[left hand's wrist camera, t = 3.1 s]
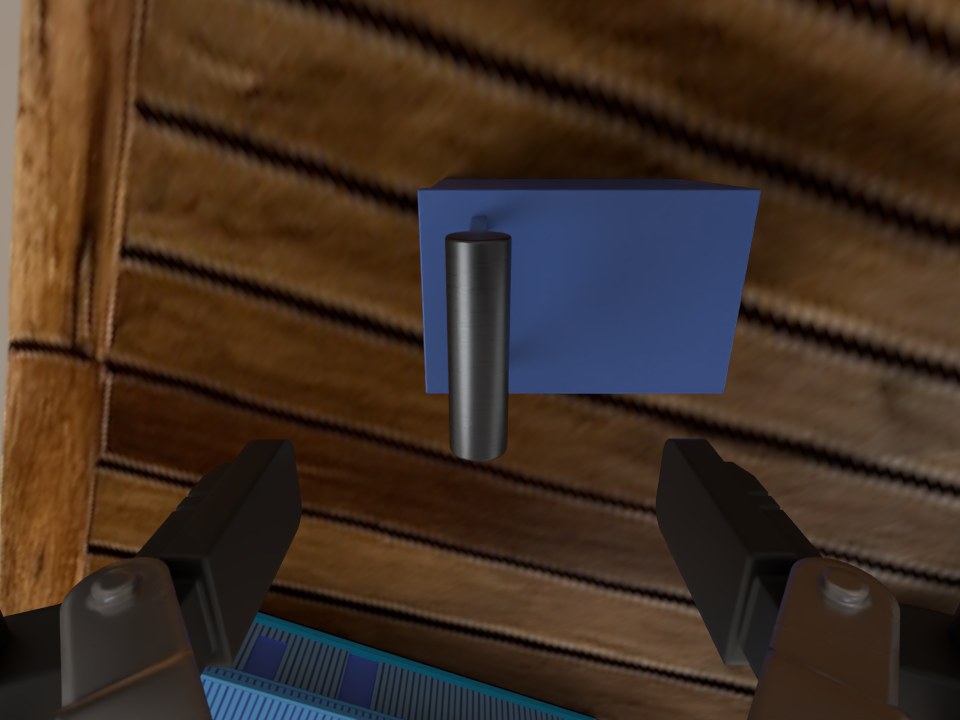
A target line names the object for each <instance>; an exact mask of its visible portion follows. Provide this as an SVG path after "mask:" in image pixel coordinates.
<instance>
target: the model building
mask: <svg viewBox="0 0 960 720" xmlns="http://www.w3.org/2000/svg"><path fill="white" fill-rule="evenodd" d="M201 681H202V684H203V688H204V691H205V695H206V698H207V701H208V705H209V708H210V712H211V715H212V719H213V720H598V719H595V718H592V717H589V716H585V715H582V714H579V713H576V712H573V711H570V710H566V709H563V708H560V707H557V706H554V705H551V704H547V703H544V702H541V701H538V700H535V699H532V698H528V697H525V696H522V695H519V694H516V693H513V692H510V691H506V690H503V689H500V688H497V687H494V686H491V685H487V684H484V683H481V682H478V681H475V680H472V679H468V678H465V677H462V676H459V675H456V674H453V673H449V672H446V671H443V670H440V669H437V668H434V667H431V666H427V665H424V664H421V663H418V662H415V661H412V660H408V659H405V658H402V657H399V656H396V655H393V654H389V653H386V652H383V651H380V650H377V649H374V648H370V647H367V646H364V645H361V644H358V643H355V642H351V641H348V640H345V639H342V638H339V637H336V636H333V635H329V634H326V633H323V632H320V631H317V630H314V629H310V628H307V627H304V626H301V625H298V624H295V623H291V622H288V621H285V620H282V619H279V618H276V617H272V616H269V615H266V614H263V613H260V612H258V613H257V615H256V617H255V619H254V621H253V623H252V625H251V627H250V629H249V632H248V634H247V636H246V638H245V640H244V642H243V644H242V646H241V648H240V650H239V652H238V654H237V656H236V658H235V661H234V663H233V665H232V667H205V669H204V671H203V673H202V675H201Z"/></svg>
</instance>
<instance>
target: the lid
mask: <svg viewBox="0 0 960 720" xmlns="http://www.w3.org/2000/svg"><path fill="white" fill-rule="evenodd" d="M760 195H761V190H760V189H752V188H421V189H419V190H418V213H419V237H420V261H421V285H422V310H423V334H424V358H425V382H426V393H449V432H450V449H451V451H452V452H453V453H454V454H455V455H456V456H457V457H459V458H461V459H464V460H468V461H477V462H480V461H489V460H493V459H496V458H498V457H500V456H501V455H502V454H504V452H505V451H506V449H507V439H508V393H724V387H725V382H726V377H727V371H728V366H729V361H730V355H731V350H732V345H733V339H734V334H735V328H736V323H737V318H738V312H739V307H740V302H741V296H742V291H743V286H744V280H745V275H746V270H747V264H748V259H749V254H750V248H751V243H752V238H753V232H754V227H755V222H756V216H757V211H758V206H759V200H760Z"/></svg>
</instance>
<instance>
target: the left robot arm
mask: <svg viewBox="0 0 960 720" xmlns="http://www.w3.org/2000/svg"><path fill="white" fill-rule="evenodd" d="M656 515H657V521H658V525H659V528H660V530H661V533H662V535H663V537H664V539H665V541H666V543H667V545H668V547H669V549H670V551H671V554H672V556H673V558H674V560H675V562H676V564H677V566H678V568H679V570H680V572H681V575H682V577H683V579H684V581H685V583H686V585H687V587H688V589H689V591H690V593H691V595H692V598H693V600H694V602H695V604H696V606H697V608H698V610H699V612H700V614H701V616H702V619H703V621H704V623H705V625H706V627H707V629H708V631H709V633H710V635H711V637H712V640H713V642H714V644H715V646H716V648H717V650H718V652H719V654H720V656H721V658H722V661H723V663H724V665H750V666H751V668H752V670H753V671H754V673H755V675H756V677H757V679H758V684H757V688H756V691H755V695H754V698H753V701H752V705H751V708H750V712H749V715H748V719H747V720H960V603H959V606H958V608H957V610H956V613H955V615H950V614H946V613H941V612H937V611H932V610H928V609H924V608H919V607H915V606H910V605H906V604H902V603H898V602H897V600H896V599H895V597H894V596H893V594H892V593H891V592H890V591H889V590H888V589H887V588H886V587H885V586H884V585H883V584H882V583H881V582H880V581H878V580H877V579H876V578H874V577H873V576H871V575H870V574H868V573H866V572H865V571H863V570H861V569H859V568H857V567H855V566H852V565H850V564H847V563H844V562H841V561H838V560H834V559H830V558H823V557H822V556H821V555H820V553H819V552H818V551H817V550H816V549H815V548H814V546H813V545H812V544H811V543H810V542H809V540H808V539H807V538H806V537H805V536H804V535H803V533H802V532H801V531H800V530H799V529H798V527H797V526H796V525H795V524H794V523H793V522H792V520H791V519H790V518H789V517H788V516H787V514H786V513H785V512H784V511H783V510H780V506H779V505H778V504H777V503H776V501H775V500H774V499H773V498H772V497H771V496H768V492H767V491H766V490H765V488H764V487H763V486H762V485H761V484H760V482H759V481H758V480H757V479H756V478H755V477H754V476H753V475H752V474H750V473H749V472H747V471H745V470H744V469H742V468H741V467H739V466H738V465H736V464H735V463H733V462H724V461H723V460H722V459H721V457H720V456H719V455H718V453H717V452H716V451H715V450H714V448H713V447H712V446H711V445H710V443H709V442H708V441H707V440H706V439H668V440H667V441H666V443H665V445H664V450H663V456H662V463H661V470H660V477H659V483H658V490H657V497H656ZM300 518H301V496H300V489H299V482H298V476H297V469H296V462H295V456H294V450H293V446H292V443H291V442H290V441H289V440H251V441H250V442H249V443H248V444H247V445H246V447H245V448H244V449H243V450H242V452H241V453H240V454H239V455H238V457H237V458H236V459H235V460H234V462H233V463H224V464H222V465H221V466H219V467H217V468H216V469H214V470H213V471H211V472H210V473H208V474H207V475H205V476H204V477H202V478H201V480H200V481H199V482H198V483H197V484H196V485H195V487H194V488H193V489H192V490H191V491H190V492H189V494H188V497H185V498H184V499H183V501H182V502H181V503H180V504H179V505H178V506H177V508H176V511H173V512H172V514H171V515H170V516H169V517H168V518H167V519H166V521H165V522H164V523H163V524H162V525H161V526H160V528H159V529H158V530H157V531H156V532H155V533H154V535H153V536H152V537H151V538H150V539H149V540H148V542H147V543H146V544H145V545H144V546H143V547H142V549H141V550H140V551H139V552H138V553H137V555H136V556H135V557H134V558H130V559H126V560H122V561H119V562H116V563H113V564H110V565H108V566H105V567H103V568H101V569H99V570H97V571H95V572H94V573H92V574H90V575H89V576H87V577H86V578H84V579H83V580H82V581H80V582H79V583H78V584H77V585H76V586H75V587H74V588H73V589H72V590H71V591H70V592H69V593H68V594H67V596H66V597H65V599H64V600H63V602H62V603H61V604H57V605H53V606H49V607H44V608H40V609H36V610H31V611H27V612H23V613H18V614H14V615H9V616H5V617H3V615H2V612H1V610H0V720H213V719H212V715H211V712H210V708H209V705H208V701H207V698H206V695H205V691H204V688H203V684H202V681H201V675H202V673H203V671H204V669H205V667H232V665H233V663H234V661H235V658H236V656H237V654H238V652H239V650H240V648H241V646H242V644H243V642H244V640H245V638H246V636H247V634H248V632H249V629H250V627H251V625H252V623H253V621H254V619H255V617H256V615H257V613H258V611H259V609H260V607H261V605H262V603H263V600H264V598H265V596H266V594H267V592H268V590H269V588H270V586H271V584H272V582H273V580H274V578H275V576H276V574H277V571H278V569H279V567H280V565H281V563H282V561H283V559H284V557H285V555H286V553H287V551H288V549H289V547H290V545H291V542H292V540H293V538H294V536H295V534H296V532H297V530H298V527H299V523H300Z"/></svg>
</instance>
